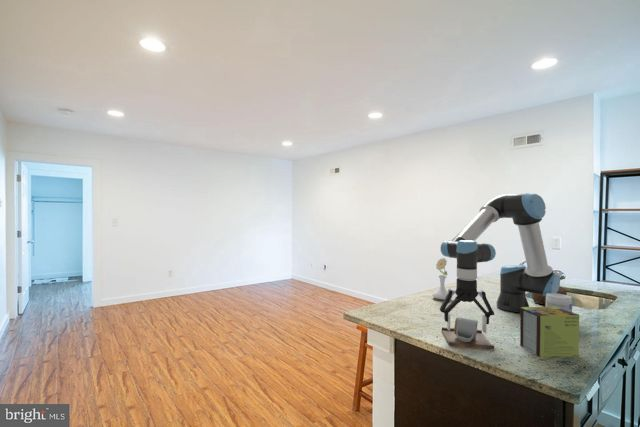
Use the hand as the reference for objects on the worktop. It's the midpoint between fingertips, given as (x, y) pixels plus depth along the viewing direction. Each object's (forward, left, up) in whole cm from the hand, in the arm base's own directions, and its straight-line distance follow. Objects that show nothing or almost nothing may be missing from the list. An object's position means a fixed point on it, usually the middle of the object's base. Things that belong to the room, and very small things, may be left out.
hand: (466, 330), depth 128 cm
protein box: (-28, +4, -4) cm, 29 cm away
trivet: (0, 0, -4) cm, 4 cm away
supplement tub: (-45, -24, -4) cm, 51 cm away
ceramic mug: (+3, +1, -3) cm, 4 cm away
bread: (-66, -76, -5) cm, 101 cm away
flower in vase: (-2, -62, -4) cm, 62 cm away
